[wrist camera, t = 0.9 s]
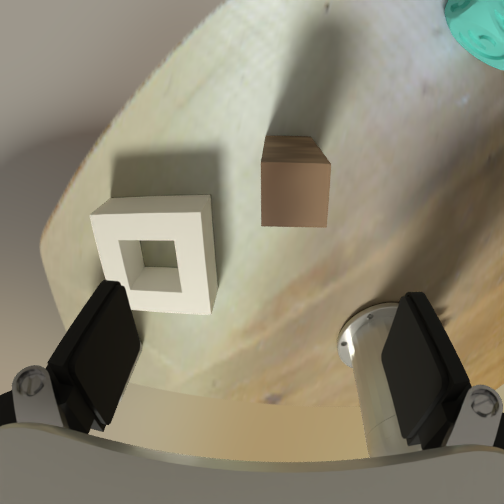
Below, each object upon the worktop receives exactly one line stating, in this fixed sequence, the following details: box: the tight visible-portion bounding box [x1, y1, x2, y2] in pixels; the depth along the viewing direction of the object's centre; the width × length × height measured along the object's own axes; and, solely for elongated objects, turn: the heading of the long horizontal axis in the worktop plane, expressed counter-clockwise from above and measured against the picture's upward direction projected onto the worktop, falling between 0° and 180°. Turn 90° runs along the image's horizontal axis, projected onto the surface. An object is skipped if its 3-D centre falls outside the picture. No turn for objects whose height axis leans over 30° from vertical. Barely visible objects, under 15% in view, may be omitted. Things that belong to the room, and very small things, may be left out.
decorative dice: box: [445, 0, 504, 70], centre depth 17 cm, size 8×8×8 cm
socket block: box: [90, 195, 218, 315], centre depth 34 cm, size 12×12×5 cm
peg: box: [261, 136, 331, 227], centre depth 26 cm, size 4×4×12 cm
